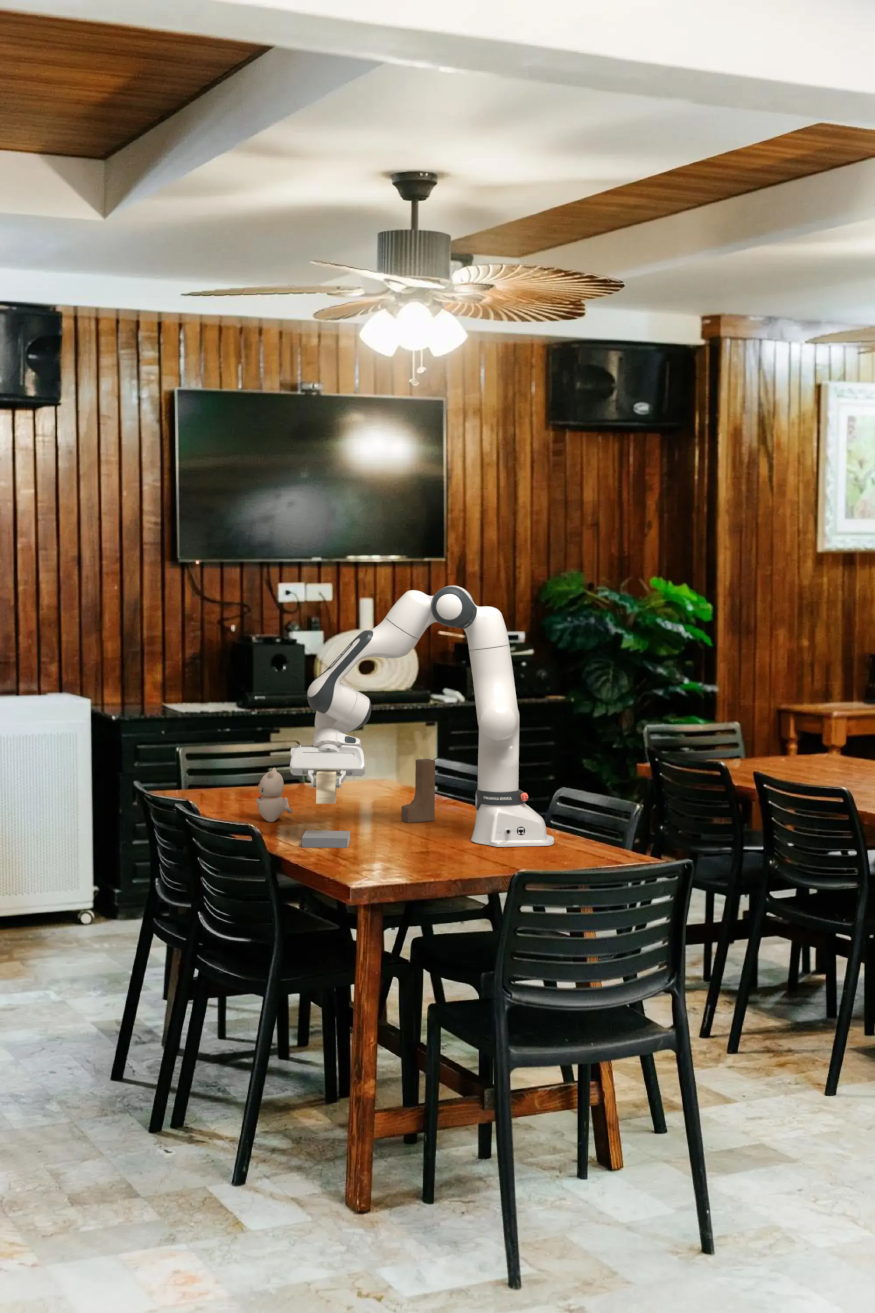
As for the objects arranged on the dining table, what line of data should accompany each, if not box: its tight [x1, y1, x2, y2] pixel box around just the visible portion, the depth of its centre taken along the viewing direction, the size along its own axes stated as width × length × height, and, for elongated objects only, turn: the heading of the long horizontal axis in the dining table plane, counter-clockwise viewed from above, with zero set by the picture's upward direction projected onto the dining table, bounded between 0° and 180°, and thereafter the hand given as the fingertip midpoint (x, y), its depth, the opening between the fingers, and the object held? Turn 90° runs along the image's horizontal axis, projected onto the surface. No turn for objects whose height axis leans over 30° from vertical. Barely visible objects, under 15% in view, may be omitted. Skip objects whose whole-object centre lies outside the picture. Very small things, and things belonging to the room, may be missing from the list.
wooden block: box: [400, 758, 436, 824], centre depth 449 cm, size 9×4×18 cm, turn 118°
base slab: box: [301, 830, 351, 849], centre depth 409 cm, size 12×12×2 cm
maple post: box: [315, 771, 337, 805], centre depth 409 cm, size 5×5×8 cm
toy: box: [255, 767, 294, 823], centre depth 449 cm, size 12×10×15 cm
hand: (326, 786), depth 408 cm, fingers closed on maple post, 5 cm apart
